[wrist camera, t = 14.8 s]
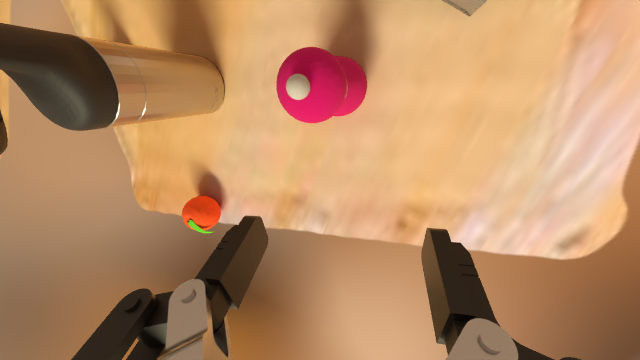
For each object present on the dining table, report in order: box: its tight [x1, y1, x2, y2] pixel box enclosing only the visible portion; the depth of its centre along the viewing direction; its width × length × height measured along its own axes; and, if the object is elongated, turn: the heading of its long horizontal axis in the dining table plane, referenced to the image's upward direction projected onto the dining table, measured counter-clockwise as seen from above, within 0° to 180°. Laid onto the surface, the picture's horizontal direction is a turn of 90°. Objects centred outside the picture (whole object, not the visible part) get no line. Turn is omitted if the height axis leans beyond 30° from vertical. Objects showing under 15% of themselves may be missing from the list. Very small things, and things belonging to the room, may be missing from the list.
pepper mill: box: [277, 47, 367, 123], centre depth 25 cm, size 7×7×20 cm
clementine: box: [182, 196, 221, 233], centre depth 46 cm, size 8×7×7 cm
